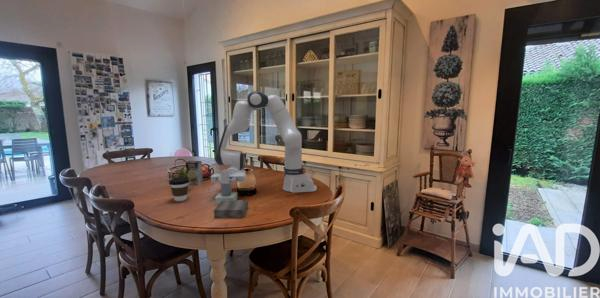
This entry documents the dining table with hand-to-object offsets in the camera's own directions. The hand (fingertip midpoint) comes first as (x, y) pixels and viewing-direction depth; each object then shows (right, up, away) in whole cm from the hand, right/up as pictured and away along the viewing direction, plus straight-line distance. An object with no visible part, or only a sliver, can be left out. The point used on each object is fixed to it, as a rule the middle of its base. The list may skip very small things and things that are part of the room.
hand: (225, 181), depth 157 cm
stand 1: (0, -12, +3) cm, 12 cm away
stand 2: (+7, -14, -14) cm, 21 cm away
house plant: (-34, -9, +24) cm, 43 cm away
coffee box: (-32, -7, +40) cm, 52 cm away
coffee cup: (-28, -12, +6) cm, 31 cm away
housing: (0, -8, +2) cm, 8 cm away
